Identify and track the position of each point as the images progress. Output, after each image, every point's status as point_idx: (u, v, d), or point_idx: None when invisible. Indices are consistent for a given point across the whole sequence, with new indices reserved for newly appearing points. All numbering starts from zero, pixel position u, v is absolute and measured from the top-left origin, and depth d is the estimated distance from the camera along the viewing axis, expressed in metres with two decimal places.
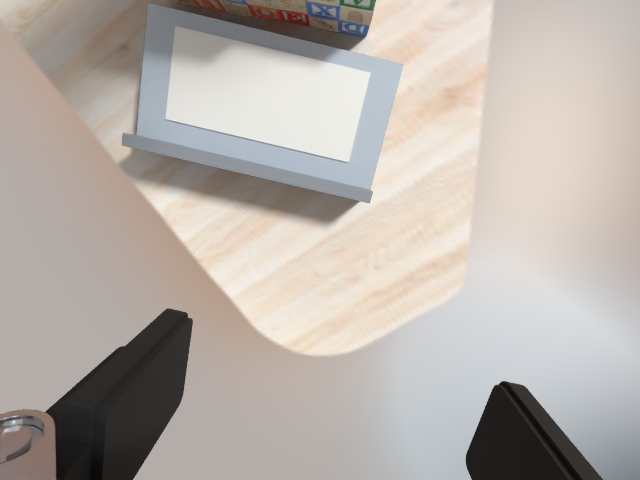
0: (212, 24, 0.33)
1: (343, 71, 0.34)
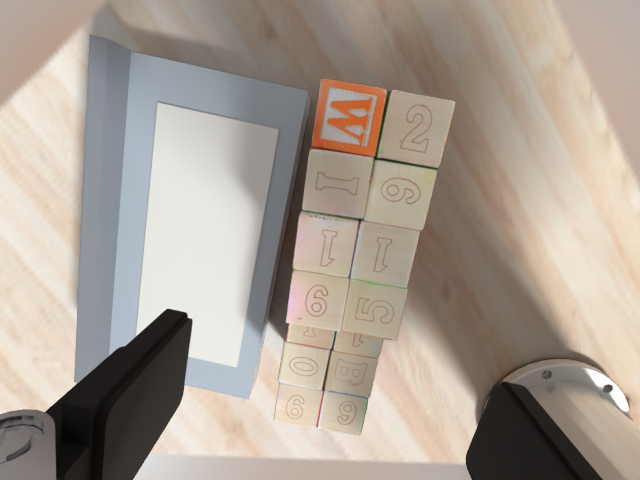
0: (282, 181, 0.25)
1: (235, 339, 0.28)
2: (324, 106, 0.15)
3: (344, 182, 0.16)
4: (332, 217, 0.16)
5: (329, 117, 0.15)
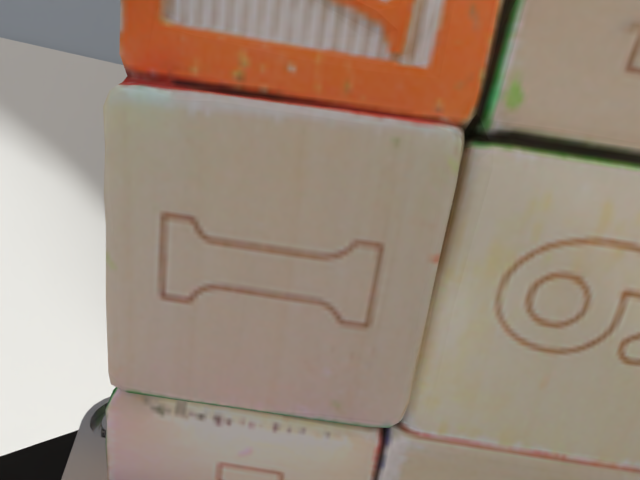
0: None
1: None
2: None
3: (305, 266, 0.03)
4: (258, 416, 0.04)
5: None
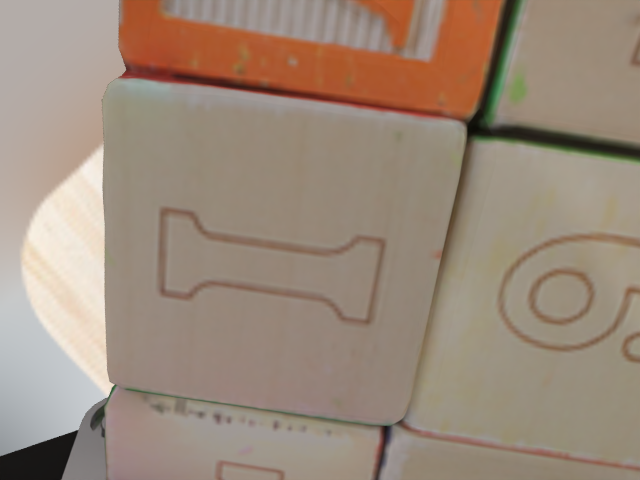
0: None
1: None
2: None
3: (306, 263, 0.03)
4: (257, 413, 0.03)
5: None
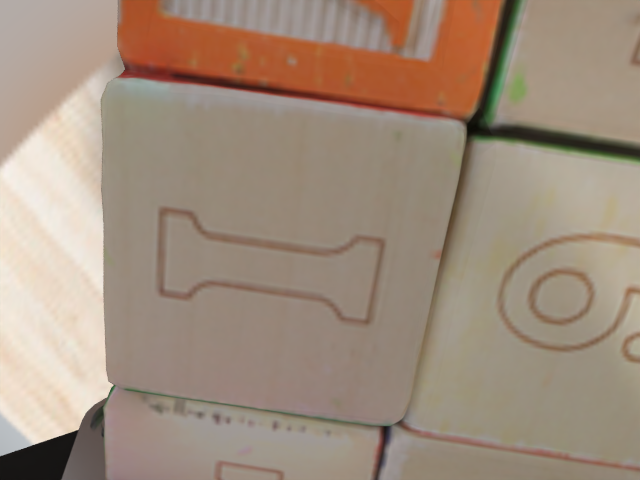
0: None
1: None
2: None
3: (306, 262, 0.03)
4: (257, 413, 0.03)
5: None
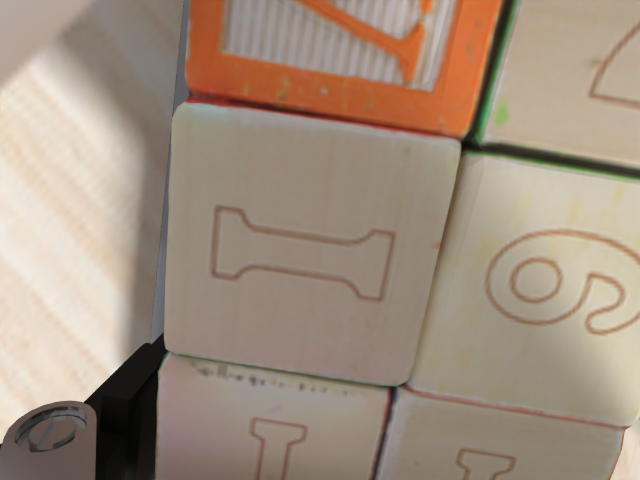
0: None
1: None
2: None
3: (331, 250, 0.04)
4: (286, 377, 0.04)
5: None
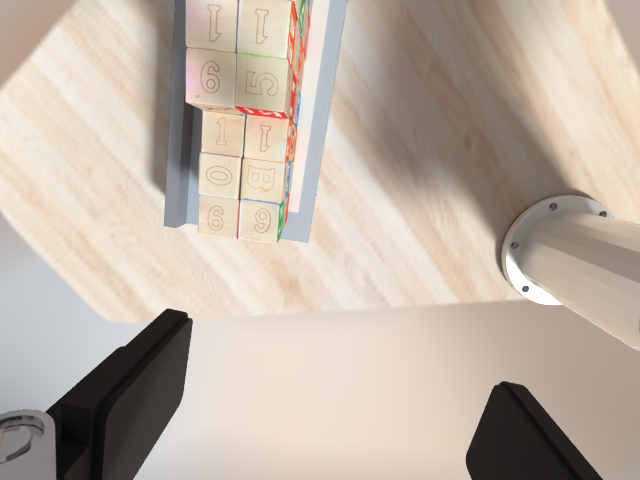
0: (334, 37, 0.30)
1: (297, 185, 0.33)
2: None
3: None
4: None
5: None
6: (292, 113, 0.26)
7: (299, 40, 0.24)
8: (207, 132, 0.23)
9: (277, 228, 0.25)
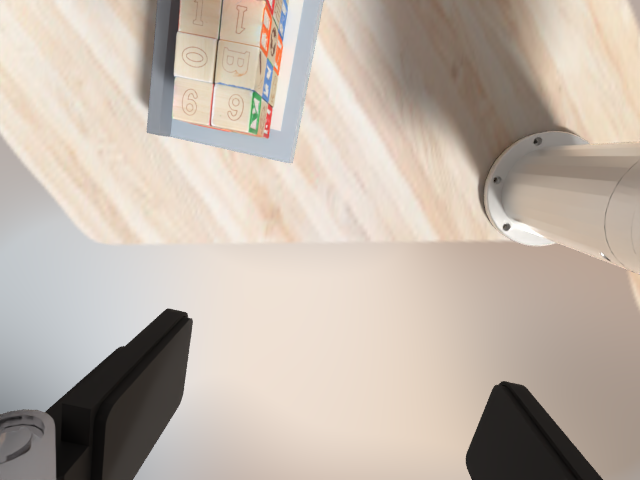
0: None
1: (280, 102, 0.34)
2: None
3: None
4: None
5: None
6: (272, 5, 0.26)
7: None
8: (185, 10, 0.24)
9: (249, 116, 0.25)
